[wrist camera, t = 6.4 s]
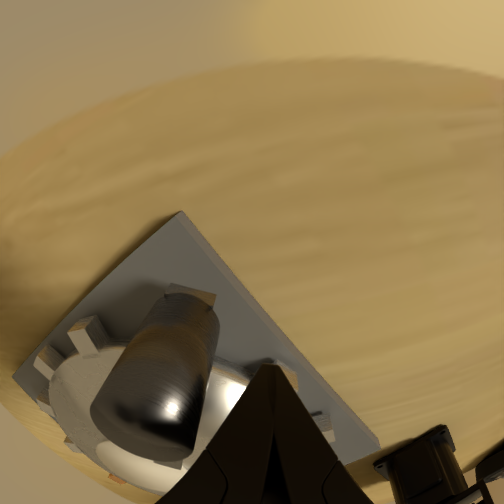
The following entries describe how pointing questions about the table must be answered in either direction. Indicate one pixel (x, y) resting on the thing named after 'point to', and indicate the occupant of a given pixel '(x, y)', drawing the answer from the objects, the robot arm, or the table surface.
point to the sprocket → (148, 390)
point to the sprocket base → (227, 310)
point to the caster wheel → (491, 468)
